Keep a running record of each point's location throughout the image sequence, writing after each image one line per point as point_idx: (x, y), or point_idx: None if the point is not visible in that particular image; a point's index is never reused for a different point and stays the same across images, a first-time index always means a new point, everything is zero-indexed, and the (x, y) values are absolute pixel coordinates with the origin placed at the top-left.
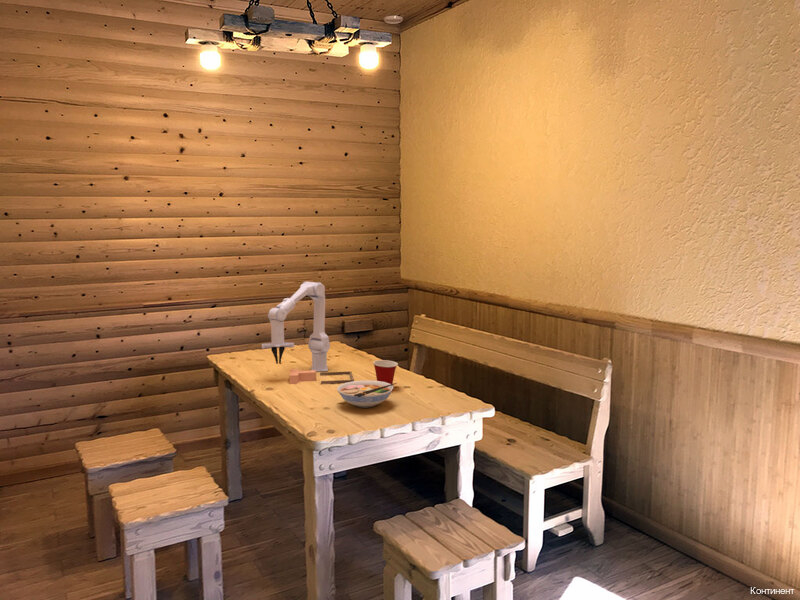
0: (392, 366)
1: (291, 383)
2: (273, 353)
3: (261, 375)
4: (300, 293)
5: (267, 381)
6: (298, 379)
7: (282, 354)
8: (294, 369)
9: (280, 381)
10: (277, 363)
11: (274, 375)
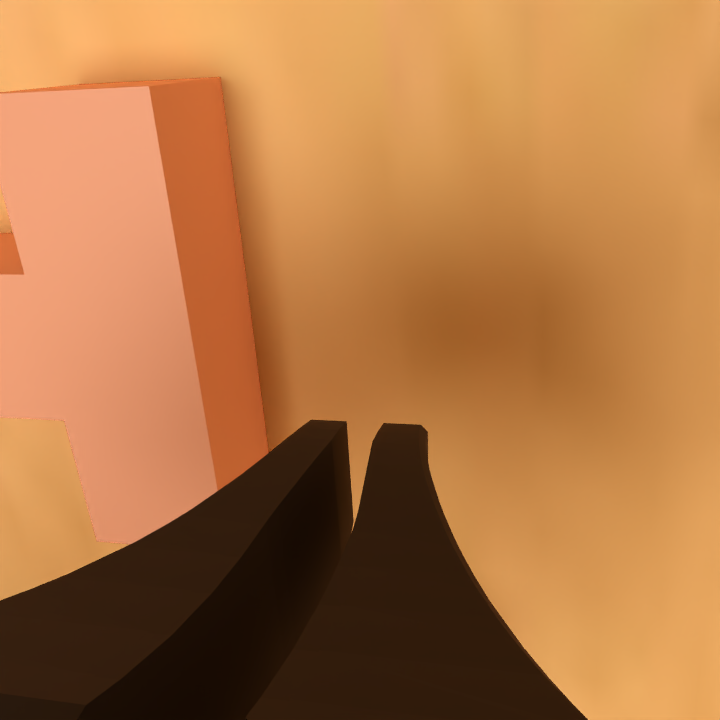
0: None
1: (187, 79)
2: (494, 635)
3: (689, 652)
4: None
5: (616, 314)
6: (33, 89)
7: (97, 563)
8: (154, 525)
9: (394, 279)
10: (389, 427)
11: (500, 611)
